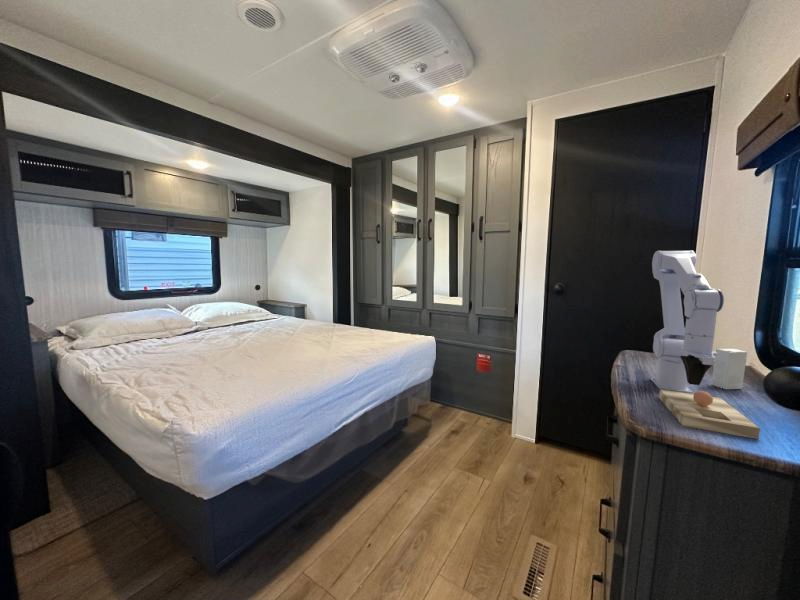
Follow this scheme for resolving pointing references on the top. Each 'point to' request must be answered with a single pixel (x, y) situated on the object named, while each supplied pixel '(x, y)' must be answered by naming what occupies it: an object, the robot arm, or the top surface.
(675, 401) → the beige flat board
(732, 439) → the top surface
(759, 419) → the top surface
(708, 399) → the ball
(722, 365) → the skincare box
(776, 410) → the top surface
